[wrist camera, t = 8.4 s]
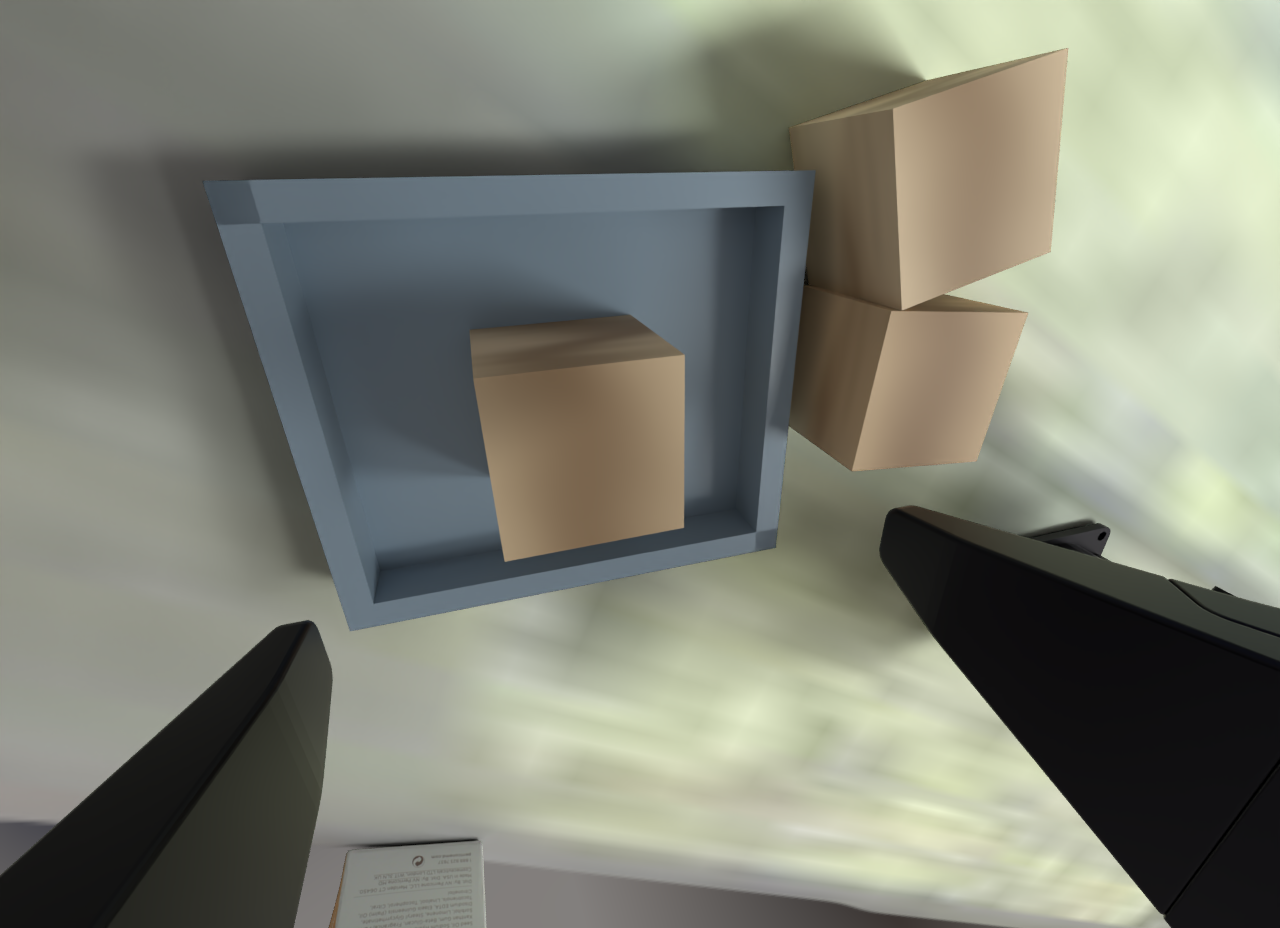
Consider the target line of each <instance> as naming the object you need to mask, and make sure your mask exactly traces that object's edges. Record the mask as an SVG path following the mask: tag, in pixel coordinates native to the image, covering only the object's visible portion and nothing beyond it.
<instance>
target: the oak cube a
mask: <svg viewBox="0 0 1280 928" xmlns="http://www.w3.org/2000/svg"><path fill="white" fill-rule="evenodd" d="M469 331H470V344H471V357H472V369H473V380H474V386H475V392H476V398H477V404H478V409H479V415H480V421H481V427H482V433H483V439H484V444H485V450H486V456H487V462H488V468H489V473H490V479H491V485H492V491H493V497H494V503H495V508H496V514H497V520H498V526H499V532H500V538H501V543H502V549H503V555H504V561H505V562H507V561H512V560H517V559H522V558H528V557H533V556H538V555H543V554H549V553H554V552H559V551H564V550H570V549H575V548H580V547H585V546H591V545H596V544H601V543H606V542H612V541H617V540H622V539H627V538H633V537H638V536H643V535H648V534H654V533H659V532H664V531H669V530H675V529H680V528H684V421H685V355H684V354H683V353H682V352H680V351H679V350H678V349H676V348H675V347H674V346H672V345H671V344H670V343H668V342H667V341H665V340H664V339H663V338H661V337H660V336H659V335H657V334H656V333H655V332H653V331H652V330H651V329H649V328H648V327H646V326H645V325H644V324H642V323H641V322H640V321H638V320H637V319H636V318H634V317H633V316H632V315H622V316H612V317H601V318H590V319H579V320H569V321H558V322H547V323H537V324H526V325H515V326H504V327H494V328H483V329H472V330H469Z"/></svg>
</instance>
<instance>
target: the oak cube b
mask: <svg viewBox="0 0 1280 928" xmlns="http://www.w3.org/2000/svg"><path fill="white" fill-rule="evenodd" d="M1027 315H1028V313H1027V312H1022V311H1018V310H1013V309H1009V308H1004V307H1000V306H995V305H991V304H986V303H982V302H977V301H972V300H968V299H963V298H959V297H954V296H950V295H945V294H943V295H940V296H937V297H935V298H932V299H930V300H927V301H925V302H922V303H920V304H917V305H915V306H912V307H910V308H907V309H904V310H898V309H895V308H891V307H888V306H884V305H880V304H877V303H873V302H870V301H866V300H862V299H859V298H855V297H852V296H848V295H844V294H841V293H837V292H834V291H830V290H826V289H823V288H819V287H816V286H812V285H803V295H802V304H801V313H800V323H799V332H798V342H797V351H796V360H795V370H794V379H793V389H792V398H791V407H790V417H789V426H790V427H791V428H792V429H794V430H795V431H797V432H798V433H799V434H801V435H802V436H803V437H805V438H806V439H808V440H809V441H810V442H812V443H813V444H815V445H816V446H817V447H819V448H820V449H822V450H823V451H824V452H826V453H827V454H828V455H830V456H831V457H833V458H834V459H835V460H837V461H838V462H840V463H841V464H842V465H844V466H845V467H846V468H848V469H849V470H851V471H863V470H875V469H888V468H900V467H912V466H925V465H937V464H949V463H962V462H974V461H977V458H978V455H979V453H980V450H981V447H982V444H983V441H984V438H985V435H986V433H987V430H988V427H989V424H990V421H991V418H992V415H993V412H994V410H995V407H996V404H997V401H998V398H999V395H1000V392H1001V390H1002V387H1003V384H1004V381H1005V378H1006V375H1007V372H1008V369H1009V367H1010V364H1011V361H1012V358H1013V355H1014V352H1015V349H1016V347H1017V344H1018V341H1019V338H1020V335H1021V332H1022V329H1023V326H1024V324H1025V321H1026V318H1027Z"/></svg>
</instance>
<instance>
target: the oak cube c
mask: <svg viewBox="0 0 1280 928" xmlns="http://www.w3.org/2000/svg"><path fill="white" fill-rule="evenodd" d="M1067 57H1068V48H1066V49H1062V50H1057V51H1053V52H1049V53H1044V54H1040V55H1035V56H1031V57H1027V58H1022V59H1018V60H1014V61H1009V62H1005V63H1000V64H996V65H992V66H987V67H983V68H979V69H974V70H970V71H965V72H961V73H957V74H952V75H948V76H944V77H939V78H935V79H930V80H926V81H923V82H920V83H917V84H915V85H912V86H909V87H906V88H903V89H900V90H897V91H894V92H891V93H888V94H885V95H882V96H880V97H877V98H874V99H871V100H868V101H865V102H862V103H859V104H856V105H853V106H850V107H847V108H845V109H842V110H839V111H836V112H833V113H830V114H827V115H824V116H821V117H818V118H815V119H812V120H810V121H807V122H804V123H801V124H798V125H795V126H792V127H789V134H790V142H791V149H792V157H793V165H794V171H799V170H816V172H815V182H814V191H813V201H812V210H811V219H810V229H809V238H808V248H807V257H806V267H807V275H808V283H809V285H812V286H816V287H819V288H823V289H826V290H830V291H834V292H837V293H841V294H844V295H848V296H852V297H855V298H859V299H862V300H866V301H870V302H873V303H877V304H880V305H884V306H888V307H891V308H895V309H898V310H904V309H907V308H910V307H912V306H915V305H917V304H920V303H922V302H925V301H927V300H930V299H932V298H935V297H937V296H940V295H943V294H945V293H948V292H950V291H953V290H955V289H958V288H960V287H963V286H965V285H968V284H970V283H973V282H975V281H978V280H981V279H983V278H986V277H988V276H991V275H993V274H996V273H998V272H1001V271H1003V270H1006V269H1008V268H1011V267H1014V266H1016V265H1019V264H1021V263H1024V262H1026V261H1029V260H1031V259H1034V258H1036V257H1039V256H1041V255H1044V254H1047V253H1049V252H1051V241H1052V230H1053V218H1054V207H1055V195H1056V184H1057V172H1058V160H1059V149H1060V137H1061V126H1062V114H1063V103H1064V91H1065V80H1066V68H1067Z"/></svg>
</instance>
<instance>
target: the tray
mask: <svg viewBox="0 0 1280 928" xmlns="http://www.w3.org/2000/svg"><path fill="white" fill-rule="evenodd" d="M815 172H816V170H799V171H741V172H683V173H625V174H567V175H509V176H451V177H393V178H335V179H276V180H218V181H203V184H204V187H205V190H206V193H207V196H208V199H209V202H210V206H211V209H212V212H213V215H214V218H215V221H216V224H217V227H218V230H219V233H220V236H221V239H222V242H223V245H224V248H225V251H226V254H227V257H228V260H229V263H230V267H231V270H232V273H233V276H234V279H235V282H236V285H237V288H238V291H239V294H240V297H241V300H242V303H243V306H244V309H245V312H246V315H247V318H248V321H249V324H250V328H251V331H252V334H253V337H254V340H255V343H256V346H257V349H258V352H259V355H260V358H261V361H262V364H263V367H264V370H265V373H266V376H267V379H268V382H269V385H270V389H271V392H272V395H273V398H274V401H275V404H276V407H277V410H278V413H279V416H280V419H281V422H282V425H283V428H284V431H285V434H286V437H287V440H288V443H289V446H290V449H291V453H292V456H293V459H294V462H295V465H296V468H297V471H298V474H299V477H300V480H301V483H302V486H303V489H304V492H305V495H306V498H307V501H308V504H309V507H310V510H311V514H312V517H313V520H314V523H315V526H316V529H317V532H318V535H319V538H320V541H321V544H322V547H323V550H324V553H325V556H326V559H327V562H328V565H329V568H330V571H331V575H332V578H333V581H334V584H335V587H336V590H337V593H338V596H339V599H340V602H341V605H342V608H343V611H344V614H345V617H346V620H347V623H348V626H349V629H350V631H354V630H359V629H364V628H369V627H374V626H380V625H385V624H390V623H395V622H400V621H405V620H410V619H415V618H420V617H425V616H430V615H435V614H441V613H446V612H451V611H456V610H461V609H466V608H471V607H476V606H481V605H486V604H491V603H497V602H502V601H507V600H512V599H517V598H522V597H527V596H532V595H537V594H542V593H547V592H553V591H558V590H563V589H568V588H573V587H578V586H583V585H588V584H593V583H598V582H603V581H608V580H614V579H619V578H624V577H629V576H634V575H639V574H644V573H649V572H654V571H659V570H664V569H670V568H675V567H680V566H685V565H690V564H695V563H700V562H705V561H710V560H715V559H720V558H726V557H731V556H736V555H741V554H746V553H751V552H756V551H761V550H766V549H771V548H776V539H777V530H778V520H779V511H780V501H781V492H782V483H783V473H784V464H785V454H786V445H787V436H788V426H789V417H790V407H791V398H792V389H793V379H794V370H795V360H796V351H797V342H798V332H799V323H800V313H801V304H802V295H803V285H804V276H805V266H806V257H807V248H808V238H809V229H810V219H811V210H812V201H813V191H814V182H815ZM622 315H632V316H633V317H634V318H636V319H637V320H638V321H640V322H641V323H642V324H644V325H645V326H646V327H648V328H649V329H651V330H652V331H653V332H655V333H656V334H657V335H659V336H660V337H661V338H663V339H664V340H665V341H667V342H668V343H670V344H671V345H672V346H674V347H675V348H676V349H678V350H679V351H680V352H682V353H683V354H684V355H685V421H684V528H680V529H675V530H669V531H664V532H659V533H654V534H648V535H643V536H638V537H633V538H627V539H622V540H617V541H612V542H606V543H601V544H596V545H591V546H585V547H580V548H575V549H570V550H564V551H559V552H554V553H549V554H543V555H538V556H533V557H528V558H522V559H517V560H512V561H507V562H505V561H504V555H503V549H502V543H501V538H500V532H499V526H498V520H497V514H496V508H495V503H494V497H493V491H492V485H491V479H490V473H489V468H488V462H487V456H486V450H485V444H484V439H483V433H482V427H481V421H480V415H479V409H478V404H477V398H476V392H475V386H474V380H473V369H472V357H471V344H470V331H469V330H472V329H483V328H494V327H504V326H515V325H526V324H537V323H547V322H558V321H569V320H579V319H590V318H601V317H612V316H622Z"/></svg>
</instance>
